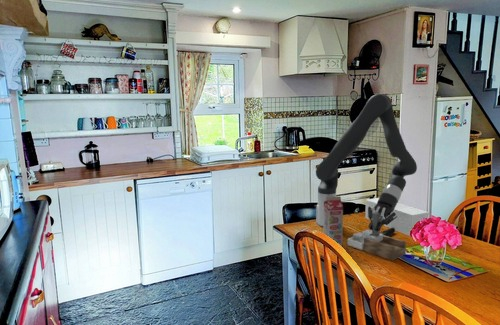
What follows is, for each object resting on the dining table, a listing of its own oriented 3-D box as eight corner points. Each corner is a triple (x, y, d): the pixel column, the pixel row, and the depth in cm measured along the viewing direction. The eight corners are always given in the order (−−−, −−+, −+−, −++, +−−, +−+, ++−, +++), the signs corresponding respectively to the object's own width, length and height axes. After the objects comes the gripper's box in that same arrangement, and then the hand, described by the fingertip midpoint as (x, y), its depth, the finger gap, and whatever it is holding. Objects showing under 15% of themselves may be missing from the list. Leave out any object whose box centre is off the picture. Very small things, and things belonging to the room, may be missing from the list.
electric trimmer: (397, 234, 176) (397, 228, 175) (379, 241, 166) (380, 235, 165) (389, 232, 178) (390, 226, 178) (372, 239, 169) (372, 233, 168)
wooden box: (363, 250, 155) (364, 238, 155) (376, 245, 161) (377, 233, 161) (392, 260, 145) (393, 247, 144) (405, 254, 151) (406, 241, 150)
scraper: (368, 241, 155) (368, 214, 153) (376, 237, 159) (376, 210, 157) (375, 243, 153) (375, 215, 151) (382, 239, 157) (383, 212, 154)
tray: (347, 245, 162) (347, 238, 161) (360, 239, 168) (360, 233, 168) (362, 250, 156) (362, 243, 155) (375, 244, 162) (376, 238, 161)
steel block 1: (360, 245, 160) (352, 243, 163) (365, 243, 163) (357, 240, 166) (361, 236, 159) (353, 234, 162) (365, 234, 162) (357, 232, 165)
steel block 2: (361, 240, 159) (362, 231, 159) (367, 238, 162) (367, 229, 161) (369, 242, 156) (370, 234, 155) (375, 240, 158) (375, 231, 158)
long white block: (365, 218, 200) (365, 199, 199) (380, 216, 204) (380, 197, 203) (411, 237, 171) (412, 215, 169) (427, 233, 175) (428, 212, 173)
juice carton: (323, 241, 166) (323, 195, 163) (337, 241, 167) (338, 194, 164) (327, 247, 160) (328, 199, 156) (342, 246, 160) (343, 198, 157)
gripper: (372, 189, 163) (355, 221, 157) (401, 195, 152) (384, 229, 146) (378, 199, 167) (362, 230, 161) (407, 205, 156) (391, 238, 150)
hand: (373, 229), depth 154 cm, fingers closed on scraper, 2 cm apart
